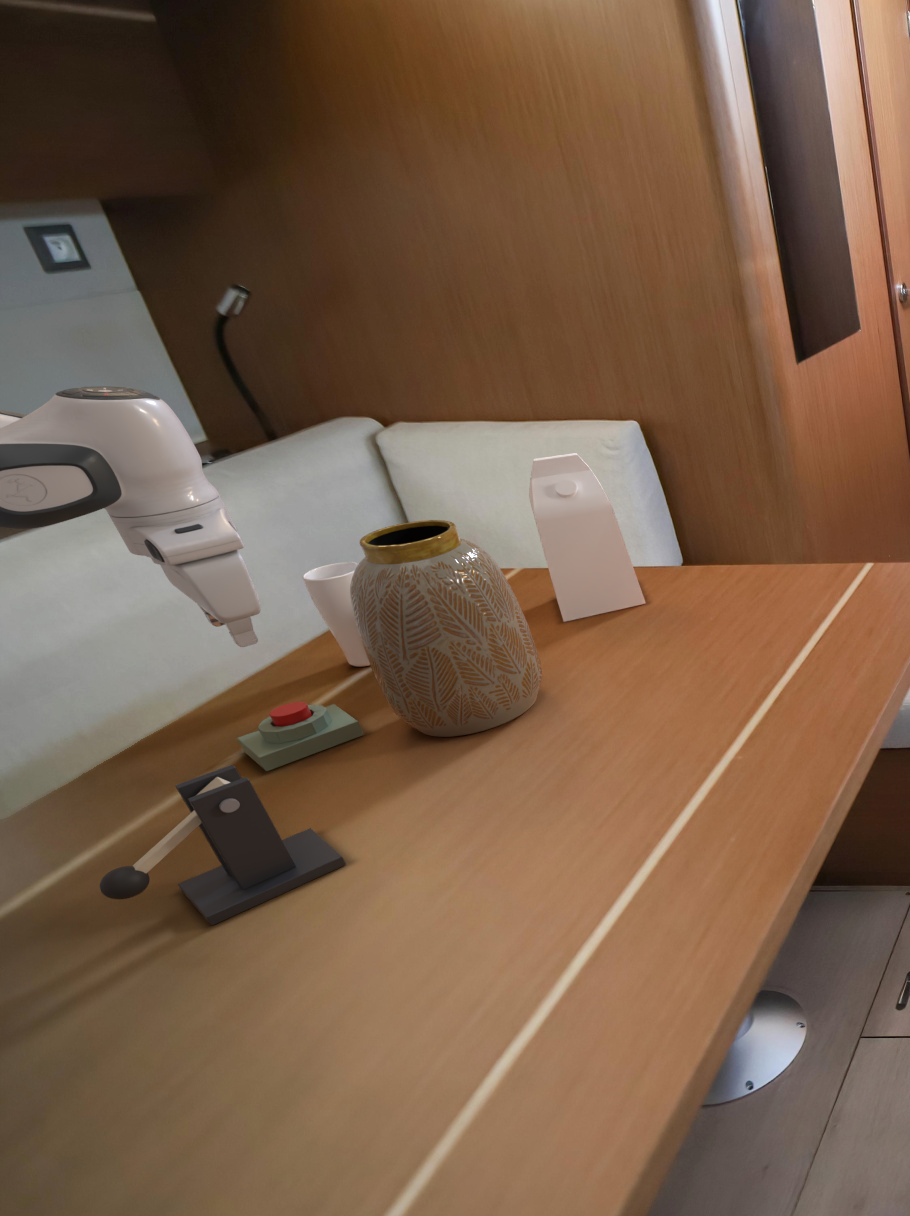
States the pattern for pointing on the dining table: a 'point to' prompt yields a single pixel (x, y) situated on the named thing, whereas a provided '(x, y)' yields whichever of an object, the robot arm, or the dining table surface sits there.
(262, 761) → the green button base
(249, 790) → the lever on stand
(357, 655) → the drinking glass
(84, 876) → the dining table surface
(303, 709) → the power button
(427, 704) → the vase
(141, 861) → the lever switch
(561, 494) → the milk
